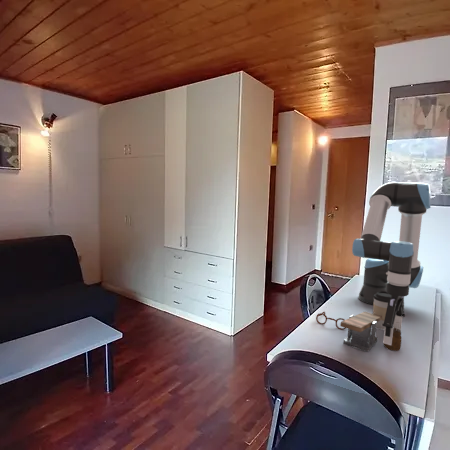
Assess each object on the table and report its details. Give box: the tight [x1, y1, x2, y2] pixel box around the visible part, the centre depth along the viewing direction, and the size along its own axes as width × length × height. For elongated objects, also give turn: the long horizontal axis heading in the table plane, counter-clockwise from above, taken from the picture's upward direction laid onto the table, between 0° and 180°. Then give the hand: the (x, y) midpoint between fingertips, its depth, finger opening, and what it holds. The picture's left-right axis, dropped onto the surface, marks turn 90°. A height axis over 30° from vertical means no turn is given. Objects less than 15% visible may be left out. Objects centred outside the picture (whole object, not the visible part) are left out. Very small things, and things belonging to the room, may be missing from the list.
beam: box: [340, 311, 382, 332], centre depth 127 cm, size 28×7×2 cm, turn 140°
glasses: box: [315, 311, 347, 331], centre depth 146 cm, size 13×13×5 cm
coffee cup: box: [372, 291, 391, 331], centre depth 142 cm, size 9×9×15 cm
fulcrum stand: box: [342, 314, 378, 353], centre depth 127 cm, size 12×9×10 cm
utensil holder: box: [382, 322, 403, 352], centre depth 124 cm, size 6×6×12 cm
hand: (392, 337), depth 124 cm, fingers open, 13 cm apart
